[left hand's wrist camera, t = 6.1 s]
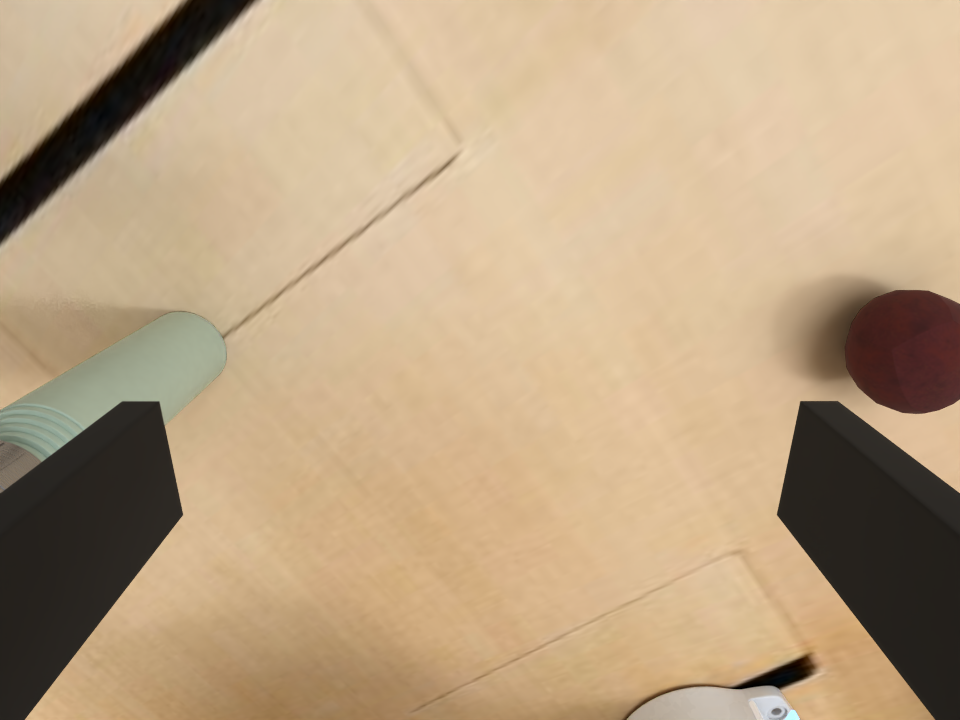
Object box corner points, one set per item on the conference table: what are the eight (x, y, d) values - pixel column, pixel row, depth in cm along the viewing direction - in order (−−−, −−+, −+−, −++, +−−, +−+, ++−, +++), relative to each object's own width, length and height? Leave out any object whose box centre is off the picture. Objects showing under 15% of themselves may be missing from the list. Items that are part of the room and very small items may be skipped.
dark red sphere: (847, 402, 43) (914, 452, 36) (803, 315, 40) (866, 351, 34) (949, 348, 41) (1038, 390, 35) (910, 254, 39) (998, 279, 32)
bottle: (190, 399, 43) (-18, 591, 25) (130, 342, 41) (-136, 504, 23) (243, 355, 42) (65, 524, 24) (184, 295, 40) (-54, 427, 22)
